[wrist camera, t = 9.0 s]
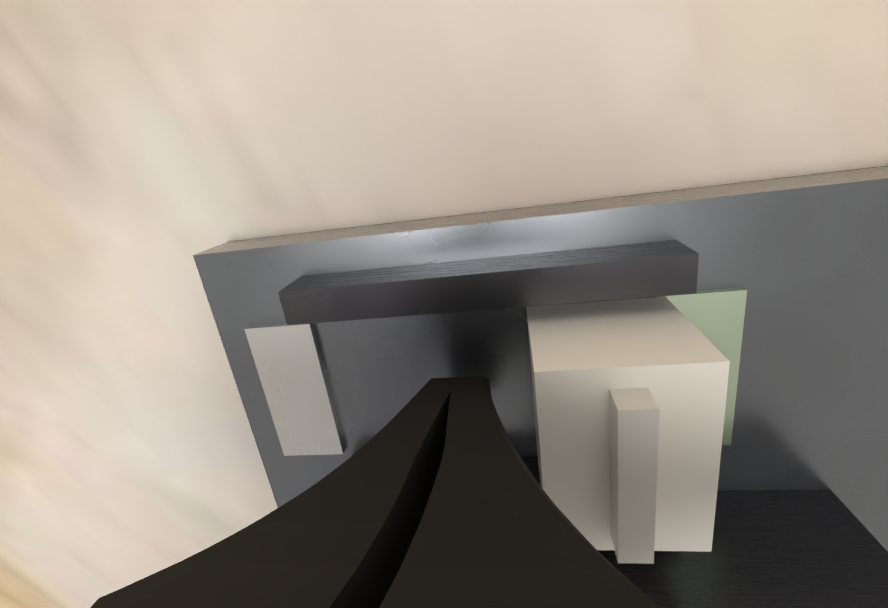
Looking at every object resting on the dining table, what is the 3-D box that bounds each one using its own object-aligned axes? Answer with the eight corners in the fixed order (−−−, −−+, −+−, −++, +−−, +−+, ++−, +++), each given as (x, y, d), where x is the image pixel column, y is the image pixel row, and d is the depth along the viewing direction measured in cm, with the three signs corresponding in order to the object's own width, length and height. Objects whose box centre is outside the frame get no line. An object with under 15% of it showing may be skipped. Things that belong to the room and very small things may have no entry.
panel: (930, 635, 14) (1124, 864, 10) (341, 612, 17) (285, 775, 13) (1104, 140, 9) (1683, 146, 5) (227, 242, 12) (73, 301, 8)
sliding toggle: (659, 446, 11) (726, 582, 8) (537, 449, 12) (550, 577, 8) (665, 296, 10) (749, 381, 6) (526, 307, 10) (536, 391, 7)
